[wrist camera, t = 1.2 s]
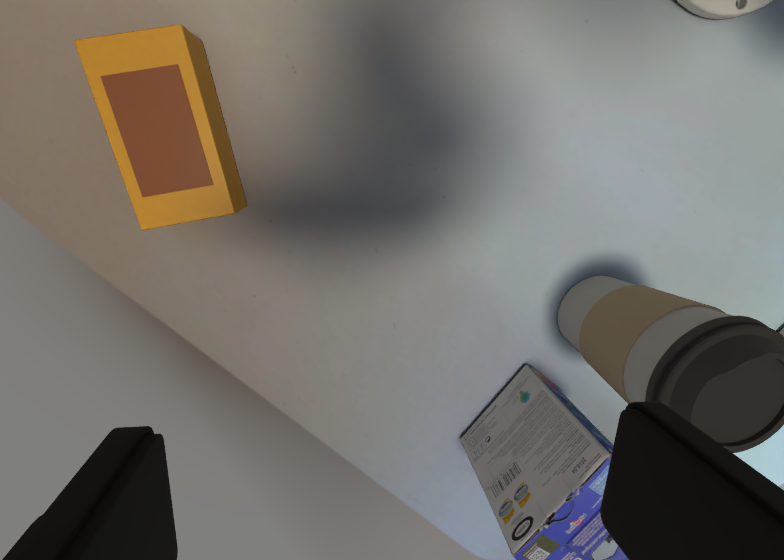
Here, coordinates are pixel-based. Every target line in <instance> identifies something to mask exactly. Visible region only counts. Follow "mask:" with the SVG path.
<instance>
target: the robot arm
mask: <svg viewBox="0 0 784 560" xmlns="http://www.w3.org/2000/svg"><path fill="white" fill-rule="evenodd" d="M771 1H773V0H677V2H678V3H679V4H681V5H682V6H683V7H685V8H686V9H687V10H689V11H690V12H692V13H694V14H697V15H699V16H702V17H704V18H711V19H728V18H734V17H737V16H740V15H744V14H747V13H750V12H752V11H755V10H757V9H759V8H761V7H763V6H766V5H767V4H768V3H770V2H771ZM600 514H601V519H602V522H603V525H604V527H605V528H606V530H607V531H608V533H609V534H610V535H611V537H612V538H613V539H614V541H615V542H616V543H617V544H618V546H619V547H620V548H621V550H622V551H623V552H624V554H625V555H626V556H627V558H628V559H629V560H784V490H782V489H781V488H780V487H778V486H777V485H776V484H774V483H773V482H771V481H770V480H769V479H767V478H766V477H764V476H763V475H762V474H760V473H759V472H758V471H756V470H755V469H753V468H752V467H751V466H749V465H748V464H747V463H745V462H744V461H742V460H741V459H740V458H738V457H737V456H735V455H734V454H733V453H731V452H730V451H729V450H727V449H726V448H724V447H723V446H722V445H720V444H719V443H718V442H716V441H715V440H713V439H712V438H711V437H709V436H708V435H707V434H705V433H704V432H702V431H701V430H700V429H698V428H697V427H695V426H694V425H693V424H691V423H690V422H689V421H687V420H686V419H684V418H683V417H682V416H680V415H679V414H678V413H676V412H675V411H673V410H672V409H671V408H669V407H668V406H666V405H665V404H663V403H662V402H660V401H644V402H632V403H629V404H628V406H627V407H626V410H623V411H622V412H621V415H620V418H619V423H618V428H617V433H616V437H615V442H614V447H613V451H612V456H611V461H610V466H609V470H608V475H607V480H606V484H605V489H604V494H603V499H602V503H601V508H600ZM3 560H177V540H176V532H175V524H174V517H173V509H172V501H171V493H170V485H169V477H168V469H167V461H166V453H165V445H164V439H163V436H162V435H161V434H154V432H153V430H152V428H151V427H149V426H144V427H124V428H115V429H113V430H112V431H111V432H110V433H109V434H108V435H107V436H106V438H105V439H104V440H103V441H102V443H101V444H100V445H99V446H98V448H97V449H96V450H95V451H94V453H93V454H92V455H91V456H90V457H89V459H88V460H87V461H86V462H85V464H84V465H83V466H82V467H81V468H80V470H79V471H78V472H77V474H76V475H75V476H74V477H73V478H72V480H71V481H70V482H69V483H68V485H67V486H66V487H65V488H64V490H63V491H62V492H61V493H60V494H59V496H58V497H57V498H56V499H55V501H54V502H53V503H52V504H51V505H50V507H49V508H48V509H47V511H46V512H45V513H44V514H43V515H42V516H40V517H39V518H38V519H37V520H35V522H34V523H32V524H31V525H30V527H29V528H28V529H27V530H26V532H25V533H24V534H23V535H22V536H21V538H20V539H19V540H18V541H17V543H16V544H15V545H14V546H13V547H12V549H11V550H10V551H9V552H8V553H7V555H6V556H5V557H4V558H3Z"/></svg>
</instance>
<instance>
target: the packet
mask: <svg viewBox="0 0 784 560" xmlns="http://www.w3.org/2000/svg"><path fill="white" fill-rule="evenodd" d="M74 43H75V45H76V48H77V51H78V54H79V57H80V59H81V62H82V65H83V68H84V71H85V73H86V76H87V79H88V82H89V85H90V87H91V90H92V93H93V96H94V99H95V101H96V104H97V107H98V110H99V113H100V115H101V118H102V121H103V124H104V127H105V129H106V132H107V135H108V138H109V141H110V143H111V146H112V149H113V152H114V155H115V157H116V160H117V163H118V166H119V169H120V171H121V174H122V177H123V180H124V183H125V185H126V188H127V191H128V194H129V197H130V199H131V202H132V205H133V208H134V211H135V213H136V216H137V219H138V222H139V225H140V227H141V230H148V229H153V228H158V227H164V226H169V225H175V224H180V223H186V222H191V221H197V220H202V219H207V218H213V217H218V216H224V215H229V214H234V213H236V212H238V211H240V210H241V209H243V208H245V207H246V206H247V204H246V200H245V196H244V193H243V189H242V185H241V182H240V178H239V174H238V171H237V167H236V163H235V160H234V156H233V152H232V149H231V145H230V141H229V138H228V134H227V131H226V127H225V123H224V120H223V116H222V112H221V109H220V105H219V101H218V98H217V94H216V90H215V87H214V83H213V79H212V76H211V72H210V68H209V65H208V61H207V57H206V54H205V50H204V46H203V43H202V42H201V41H200V40H199V39H198V38H197V37H195V36H194V35H193V34H192V33H191V32H189V31H188V30H187V29H186V28H185V27H183V26H182V25H173V26H166V27H160V28H153V29H146V30H140V31H133V32H126V33H120V34H113V35H106V36H100V37H93V38H86V39H80V40H75V41H74Z"/></svg>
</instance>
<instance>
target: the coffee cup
mask: <svg viewBox="0 0 784 560" xmlns="http://www.w3.org/2000/svg"><path fill="white" fill-rule="evenodd" d="M558 326H559V329H560V331H561V333H562V335H563V336H564V337H565V338H566V339H567V340H568V341H569V342H570V343H571V344H572V345H573V346H574V347H575V348H576V349H577V350H578V351H579V352H580V353H581V354H582V355H583V357H584V359H585V360H586V361H587V363H588V364H589V365H590V366H591V367H592V368H593V369H594V370H595V371H596V372H597V373H598V374H599V375H600V376H601V377H602V378H603V379H604V380H605V381H606V382H607V383H608V384H609V385H610V386H611V387H612V388H613V389H614V390H615V391H616V392H617V393H618V394H619V395H620V396H621V397H622V398H623V399H624V400H625V401H626V402H627V403H628V404H629V403H632V402H644V401H660V402H662V403H663V404H665V405H666V406H668V407H669V408H671V409H672V410H673V411H675V412H676V413H678V414H679V415H680V416H682V417H683V418H684V419H686V420H687V421H689V422H690V423H691V424H693V425H694V426H695V427H697V428H698V429H700V430H701V431H702V432H704V433H705V434H707V435H708V436H709V437H711V438H712V439H713V440H715V441H716V442H718V443H719V444H720V445H722V446H723V447H724V448H726V449H727V450H729V451H730V452H731V453H737V452H741V451H745V450H748V449H750V448H753V447H755V446H757V445H759V444H760V443H762V442H764V441H765V440H767V439H768V438H770V437H771V436H772V435H773V434H775V433H776V432H777V431H778V430H779V429H780V428H781V427H782V426H783V425H784V336H783V335H782V334H780V333H779V332H777V331H775V330H773V329H771V328H769V327H767V326H766V325H765V324H763V323H762V322H760V321H758V320H756V319H753V318H749V317H744V316H732V315H729V314H726V313H725V312H723V311H722V310H720V309H718V308H715V307H712V306H709V305H706V304H702V303H699V302H696V301H693V300H689V299H686V298H683V297H679V296H676V295H673V294H670V293H666V292H663V291H660V290H656V289H653V288H650V287H646V286H641V285H635V284H632V283H628V282H625V281H622V280H619V279H616V278H613V277H609V276H593V277H590V278H587V279H584V280H582V281H581V282H579V283H577V284H576V285H575V286H574V287H572V288H571V289H570V290H569V291H568V293H567V294H566V295H565V297H564V298H563V300H562V302H561V304H560V307H559V310H558Z"/></svg>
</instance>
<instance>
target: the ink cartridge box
mask: <svg viewBox="0 0 784 560" xmlns="http://www.w3.org/2000/svg"><path fill="white" fill-rule="evenodd" d="M461 442H462V445H463V447H464V449H465V451H466V453H467V455H468V458H469V460H470V462H471V464H472V466H473V468H474V471H475V473H476V475H477V477H478V479H479V482H480V484H481V486H482V488H483V490H484V492H485V494H486V496H487V499H488V501H489V503H490V505H491V508H492V510H493V512H494V514H495V517H496V519H497V521H498V523H499V526H500V528H501V530H502V532H503V535H504V537H505V539H506V541H507V544H508V546H509V548H510V550H511V553H512V555H513V556H514V557H515V559H516V560H594V559H593V558H592V553H593V552H594V551H595V550H596V549H597V548H598V547H599V545H600V544H601V543H602V541H604V540H605V539H606V538H607V537H608V535H609V533H608V531H607V530H606V528H605V527H604V525H603V522H602V519H601V514H600V508H601V503H602V499H603V494H604V489H605V484H606V480H607V475H608V470H609V466H610V461H611V456H612V451H613V447H614V445H613V444H612V443H611V442H610V441H609V440H608V439H607V438H606V437H605V436H604V435H603V434H602V433H601V432H600V431H599V430H598V429H597V428H596V427H595V426H594V425H593V424H592V423H591V422H590V421H589V420H588V419H587V418H586V417H585V416H584V415H583V414H582V413H581V412H580V411H579V410H578V409H577V408H576V407H575V406H574V404H573V403H572V402H571V401H570V400H569V399H568V398H567V397H566V396H565V395H564V394H563V393H562V392H561V390H560V389H559V388H558V387H557V386H556V385H555V384H553V383H552V382H551V381H549V380H548V379H547V378H546V377H544V376H543V375H542V374H540V373H539V372H538V371H537V370H535V369H534V368H533V367H531V366H530V365H525V366H524V367H523V368H522V370H521V371H520V372H519V373H518V374H517V375H516V376H515V378H514V379H513V380H512V381H511V382H510V383H509V384H508V386H507V387H506V388H505V389H504V390H503V391H502V392H501V394H500V395H499V396H498V397H497V398H496V399H495V400H494V402H493V403H492V404H491V405H490V406H489V407H488V408H487V409H486V411H485V412H484V413H483V414H482V415H481V416H480V417H479V419H478V420H477V421H476V422H475V423H474V424H473V425H472V427H471V428H470V429H469V430H468V431H467V432H466V433H465V434H464V436H463V437H462V438H461ZM604 560H629V559H628V558H627V556H626V555H625V554H624V552H623V551H622V550H621V548H620V547H619V546H618V548H617V549H616V552H615V553H614V555H613V556H610V557H609V558H606V559H604Z"/></svg>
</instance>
